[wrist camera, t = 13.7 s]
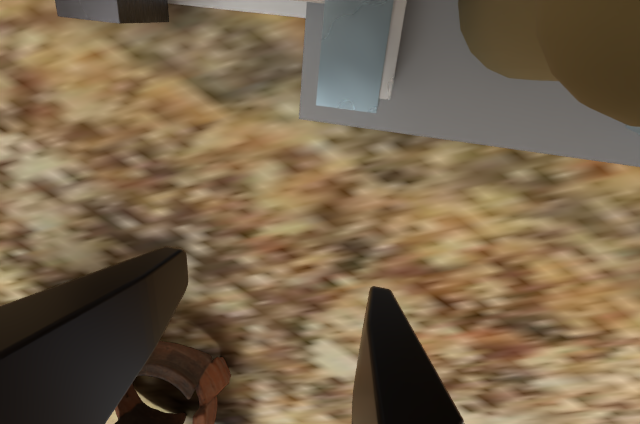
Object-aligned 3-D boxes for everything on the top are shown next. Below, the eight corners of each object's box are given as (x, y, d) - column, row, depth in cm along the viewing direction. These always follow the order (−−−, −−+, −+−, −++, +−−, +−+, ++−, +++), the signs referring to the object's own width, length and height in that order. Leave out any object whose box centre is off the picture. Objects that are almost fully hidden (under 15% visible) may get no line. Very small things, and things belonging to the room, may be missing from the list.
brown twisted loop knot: (97, 352, 31) (29, 401, 23) (206, 292, 32) (177, 319, 24) (173, 484, 32) (133, 579, 23) (279, 421, 32) (276, 493, 24)
